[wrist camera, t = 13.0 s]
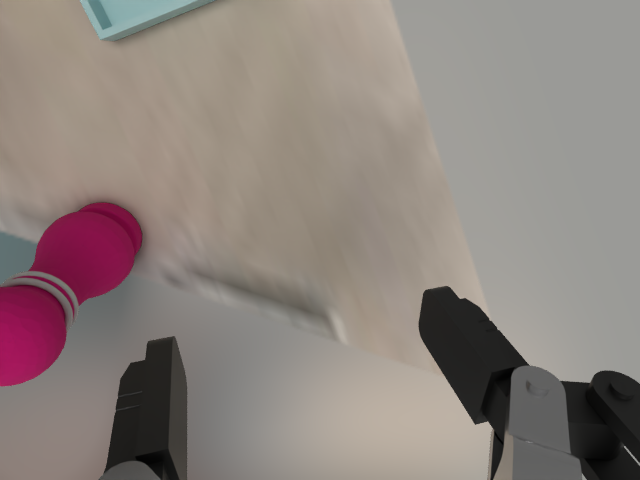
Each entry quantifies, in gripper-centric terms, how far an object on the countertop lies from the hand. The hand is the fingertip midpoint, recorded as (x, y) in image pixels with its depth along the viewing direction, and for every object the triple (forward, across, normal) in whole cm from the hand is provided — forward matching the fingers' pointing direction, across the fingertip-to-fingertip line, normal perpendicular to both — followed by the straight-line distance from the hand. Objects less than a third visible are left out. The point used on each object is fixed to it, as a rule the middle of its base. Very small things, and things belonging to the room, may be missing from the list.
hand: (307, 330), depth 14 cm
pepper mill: (+29, +13, +11) cm, 33 cm away
